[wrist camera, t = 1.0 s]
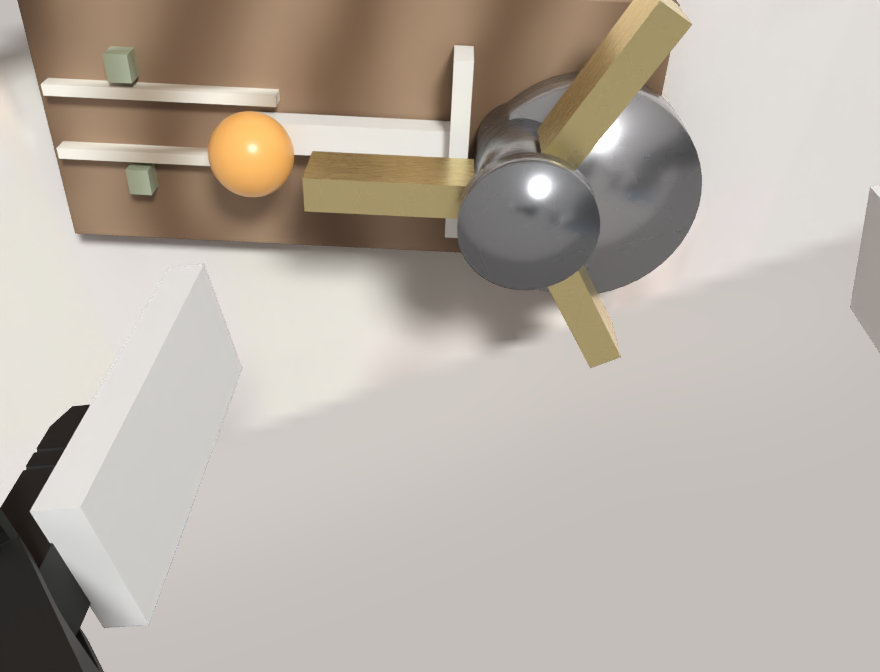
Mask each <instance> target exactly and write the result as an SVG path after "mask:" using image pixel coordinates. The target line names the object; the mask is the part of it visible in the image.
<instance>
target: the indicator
mask: <svg viewBox="0 0 880 672" xmlns="http://www.w3.org/2000/svg"><path fill="white" fill-rule="evenodd" d="M473 70H474V46H460V45H454V64H453V84H452V103H451V121H436V120H416V119H395V118H375V117H355V116H335V115H315V114H295V113H275V112H255V111H244V112H238V113H235V114H233V115H230V116H229V117H227V118H225V119H224V120H223V121H221V122H220V123H219V125H218V126H217V127H216V128H215V130H214V131H213V133H212V135H211V138H210V140H209V145H208V159H209V164H210V167H211V170H212V172H213V174H214V175H215V177H216V178H217V180H218V181H219V182H220V183H221V184H222V185H223V186H224V187H225V188H226V189H228V190H229V191H231V192H233V193H235V194H237V195H240V196H244V197H262V196H266V195H268V194H271V193H273V192H274V191H276V190H278V189H279V188H280V187H281V186H282V185H283V184H284V183H285V182H286V180H287V179H288V177H289V176H290V173H291V171H292V168H293V164H294V155H310V156H311V153H312V151H322V152H342V153H362V154H382V155H402V156H423V157H443V158H463V159H468V146H469V131H470V115H471V100H472V85H473ZM445 237H447V238H458V237H457V219H449V218H446V222H445Z"/></svg>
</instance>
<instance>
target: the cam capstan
mask: <svg viewBox="0 0 880 672" xmlns="http://www.w3.org/2000/svg"><path fill="white" fill-rule="evenodd" d="M691 25H692V23H691V22H690V21H689V19H688V18H687V17H686V15H685V14H684V13H683V11H682V10H681V9H680V7H679V6H678V5H677V4H676V3H675V2H673V1H672V0H633V1H632V2H631V4H630V5H629V6H628V8H627V9H626V10H625V12H624V13H623V14H622V16H621V17H620V18H619V20H618V21H617V23H616V24H615V25H614V27H613V28H612V29H611V31H610V32H609V33H608V35H607V36H606V37H605V39H604V40H603V41H602V43H601V44H600V45H599V47H598V48H597V49H596V51H595V52H594V53H593V55H592V56H591V57H590V59H589V60H588V62H587V63H586V64H585V66H584V67H583V68H582V70H581V71H578V72H571V73H564V74H561V75H557V76H554V77H550V78H548V79H545V80H543V81H540V82H538V83H536V84H534V85H532V86H530V87H529V88H527V89H525V90H523V91H522V92H520V93H519V94H518V95H516V96H515V97H514V98H512V99H511V100H510V101H508V102H507V103H504V104H501V105H499V106H497V107H496V108H494V109H493V110H492V111H490V112H489V113H488V114H487V115H486V117H485V118H484V119H483V121H482V123H481V125H480V127H479V130H478V133H477V147H476V150H475V153H474V157H473V159H463V158H443V157H423V156H402V155H382V154H362V153H342V152H322V151H312V153H311V156H310V159H309V162H308V164H307V167H306V170H305V173H304V175H303V178H302V179H303V195H304V211H307V212H327V213H347V214H367V215H388V216H408V217H428V218H449V219H457V237H458V243H459V246H460V249H461V252H462V254H463V256H464V258H465V259H466V261H467V262H468V264H469V265H470V266H471V267H472V268H473V269H474V271H476V272H477V273H478V274H479V275H480V276H482V277H483V278H485V279H486V280H488V281H490V282H492V283H494V284H496V285H499V286H502V287H505V288H510V289H517V290H534V289H539V290H542V291H546V292H550V293H551V294H552V296H553V298H554V300H555V302H556V304H557V306H558V308H559V310H560V311H561V313H562V315H563V317H564V319H565V321H566V323H567V325H568V327H569V329H570V330H571V332H572V334H573V336H574V338H575V340H576V341H577V344H578V345H579V347H580V349H581V351H582V353H583V355H584V357H585V359H586V361H587V363H588V365H589V366H590V368H592V367H595V366H598V365H600V364H603V363H606V362H608V361H611V360H614V359H617V358H619V357H621V356H620V352H619V348H618V343H617V339H616V335H615V331H614V327H613V323H612V321H611V319H610V317H609V315H608V313H607V311H606V309H605V307H604V305H603V303H602V301H601V299H600V297H599V295H598V293H602V292H606V291H611V290H614V289H617V288H620V287H623V286H626V285H628V284H630V283H632V282H634V281H636V280H638V279H640V278H642V277H643V276H645V275H647V274H648V273H650V272H651V271H653V270H654V269H655V268H657V267H658V266H659V265H661V264H662V263H663V262H664V261H665V260H666V259H667V258H668V257H669V256H670V255H671V254H672V253H673V252H674V251H675V250H676V248H677V247H678V246H679V245H680V244H681V242H682V241H683V239H684V238H685V236H686V234H687V233H688V231H689V229H690V227H691V225H692V223H693V221H694V219H695V216H696V213H697V210H698V207H699V202H700V197H701V188H702V175H701V167H700V162H699V158H698V155H697V151H696V149H695V147H694V145H693V142H692V140H691V138H690V136H689V134H688V132H687V131H686V129H685V127H684V125H683V123H682V121H681V120H680V118H679V117H678V115H677V114H676V112H675V111H674V109H673V108H672V107H671V106H670V105H669V103H668V102H667V101H666V100H665V99H664V98H663V97H662V96H660V95H659V94H658V93H657V92H655V91H654V90H653V89H651V88H650V87H648V86H646V85H645V83H646V82H647V80H648V79H649V78H650V77H651V75H652V74H653V73H654V72H655V70H656V69H657V68H658V67H659V65H660V64H661V63H662V62H663V60H664V59H665V58H666V57H667V55H668V54H669V53H670V52H671V50H672V49H673V48H674V47H675V45H676V44H677V43H678V42H679V40H680V39H681V38H682V37H683V35H684V34H685V33H686V31H687V30H688V29H689V28H690V26H691Z"/></svg>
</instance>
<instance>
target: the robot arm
mask: <svg viewBox="0 0 880 672" xmlns="http://www.w3.org/2000/svg"><path fill="white" fill-rule="evenodd" d="M850 308H851V310H852V311H853V313H854V314H855V316H856V317H857V319H858V320H859V322H860V323H861V325H862V327H863V328H864V330H865V331H866V333H867V334H868V336H869V337H870V339H871V340H872V342H873V343H874V345H875V347H876V348H877V350H878V351H879V352H880V186H872V187H870V191H869V197H868V203H867V209H866V215H865V221H864V227H863V233H862V239H861V245H860V251H859V257H858V263H857V269H856V275H855V281H854V287H853V293H852V299H851V305H850ZM241 371H242V366H241V363H240V360H239V358H238V355H237V352H236V350H235V347H234V344H233V341H232V339H231V336H230V333H229V330H228V328H227V325H226V322H225V319H224V317H223V314H222V311H221V309H220V306H219V303H218V300H217V298H216V295H215V292H214V289H213V287H212V284H211V281H210V278H209V276H208V273H207V270H206V268H205V265H204V264H196V265H187V266H179V267H170V268H168V270H167V271H166V273H165V275H164V277H163V278H162V280H161V282H160V284H159V285H158V287H157V289H156V291H155V292H154V294H153V296H152V298H151V299H150V301H149V303H148V305H147V306H146V308H145V310H144V312H143V313H142V315H141V317H140V319H139V320H138V322H137V324H136V326H135V327H134V329H133V331H132V333H131V335H130V336H129V338H128V340H127V342H126V343H125V345H124V347H123V349H122V350H121V352H120V354H119V356H118V357H117V359H116V361H115V363H114V364H113V366H112V368H111V370H110V371H109V373H108V375H107V377H106V378H105V380H104V382H103V384H102V385H101V387H100V389H99V391H98V392H97V394H96V396H95V398H94V399H93V401H92V403H91V405H82V406H72V407H71V408H70V409H69V410H68V411H67V412H66V413H65V414H63V415H62V416H61V417H60V418H59V419H58V420H57V421H56V422H55V423H54V424H52V425H51V426H50V427H49V429H48V431H47V432H46V434H45V436H44V437H43V439H42V441H41V442H40V444H39V445H38V447H37V452H36V453H34V454H33V455H32V457H31V459H30V460H29V462H28V464H27V465H26V467H27V469H26V470H23V472H22V473H21V475H20V477H19V478H18V480H17V482H16V483H15V485H14V486H13V488H12V490H11V491H10V493H9V495H8V496H7V498H6V500H5V501H4V503H3V504H2V506H1V508H0V672H104V671H103V669H102V667H101V665H100V663H99V661H98V659H97V657H96V655H95V653H94V651H93V649H92V647H91V645H90V643H89V641H88V639H87V638H86V636H85V635H84V633H83V631H82V630H81V629H80V626H81V624H82V622H83V620H84V617H85V615H86V613H87V610H88V608H89V606H90V607H91V609H92V610H93V612H94V613H95V615H96V616H97V618H98V620H99V621H100V623H101V624H102V626H103V627H104V628H109V627H126V626H141V625H149V623H150V620H151V618H152V615H153V612H154V610H155V607H156V604H157V601H158V599H159V596H160V593H161V590H162V588H163V585H164V582H165V579H166V576H167V574H168V571H169V568H170V566H171V563H172V560H173V557H174V554H175V552H176V549H177V546H178V544H179V541H180V538H181V535H182V533H183V530H184V527H185V523H186V522H187V519H188V516H189V513H190V511H191V508H192V505H193V502H194V500H195V497H196V494H197V491H198V489H199V486H200V483H201V480H202V478H203V475H204V472H205V469H206V467H207V464H208V461H209V459H210V456H211V453H212V450H213V448H214V445H215V442H216V439H217V437H218V434H219V431H220V428H221V426H222V423H223V420H224V417H225V415H226V412H227V409H228V406H229V404H230V401H231V398H232V395H233V393H234V390H235V387H236V384H237V382H238V379H239V376H240V373H241Z"/></svg>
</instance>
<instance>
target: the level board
mask: <svg viewBox="0 0 880 672" xmlns="http://www.w3.org/2000/svg"><path fill="white" fill-rule="evenodd" d="M632 1H633V0H18V4H19V8H20V12H21V16H22V20H23V24H24V28H25V32H26V36H27V40H28V44H29V48H30V52H31V57H32V61H33V65H34V69H35V73H36V77H37V81H38V85H39V89H40V93H41V97H42V101H43V105H44V109H45V113H46V117H47V121H48V125H49V129H50V133H51V137H52V141H53V145H54V149H55V153H56V157H57V161H58V165H59V169H60V173H61V178H62V182H63V186H64V190H65V194H66V198H67V202H68V206H69V210H70V214H71V218H72V222H73V226H74V230H75V233H78V234H98V235H119V236H139V237H159V238H180V239H200V240H220V241H241V242H261V243H281V244H302V245H322V246H342V247H363V248H383V249H403V250H424V251H444V252H461V249H460V246H459V243H458V238H447V237H445V222H446V218H428V217H408V216H388V215H367V214H347V213H327V212H307V211H304V195H303V179H302V178H303V175H304V173H305V170H306V167H307V164H308V162H309V159H310V155H294V164H293V168H292V171H291V173H290V176H289V177H288V179H287V180H286V182H285V183H284V184H283V185H282V186H281V187H280V188H279V189H278V190H276V191H274V192H273V193H271V194H268V195H266V196H262V197H244V196H240V195H237V194H235V193H233V192H231V191H229V190H228V189H226V188H225V187H224V186H223V185H222V184H221V183H220V182H219V181H218V180H217V178H216V177H215V175H214V174H213V172H212V170H211V167H210V164H209V159H208V145H209V140H210V138H211V135H212V133H213V131H214V130H215V128H216V127H217V126H218V125H219V123H220V122H221V121H223V120H224V119H225V118H227V117H229V116H230V115H233V114H235V113H238V112H244V111H255V112H275V113H295V114H315V115H335V116H355V117H375V118H395V119H416V120H436V121H451V103H452V84H453V64H454V45H460V46H474V70H473V85H472V100H471V115H470V131H469V146H468V159H473V157H474V153H475V150H476V147H477V133H478V130H479V127H480V125H481V123H482V121H483V119H484V118H485V117H486V115H487V114H488V113H489V112H490V111H492V110H493V109H494V108H496V107H497V106H499V105H501V104H504V103H507V102H508V101H510V100H511V99H512V98H514V97H515V96H516V95H518V94H519V93H520V92H522V91H523V90H525V89H527V88H529V87H530V86H532V85H534V84H536V83H538V82H540V81H543V80H545V79H548V78H550V77H554V76H557V75H561V74H564V73H571V72H578V71H581V70H582V68H583V67H584V66H585V64H586V63H587V62H588V60H589V59H590V57H591V56H592V55H593V53H594V52H595V51H596V49H597V48H598V47H599V45H600V44H601V43H602V41H603V40H604V39H605V37H606V36H607V35H608V33H609V32H610V31H611V29H612V28H613V27H614V25H615V24H616V23H617V21H618V20H619V18H620V17H621V16H622V14H623V13H624V12H625V10H626V9H627V8H628V6H629V5H630V4H631V2H632ZM672 1H673V2H675V3H676V4H677V5H678V6H680V5H679V3H678V2H677V1H676V0H672ZM669 56H670V53H669V54H668V55H667V57H666V58H665V59H664V60H663V62H662V63H661V64H660V65H659V67H658V68H657V69H656V70H655V72H654V73H653V74H652V75H651V77H650V78H649V79H648V80H647V82H646V83H645V85H646V86H648V87H650V88H651V89H653V90H654V91H655V92H657V93H658V94H659V95H660V96H661V95H662V90H663V85H664V80H665V75H666V70H667V65H668V60H669Z"/></svg>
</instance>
